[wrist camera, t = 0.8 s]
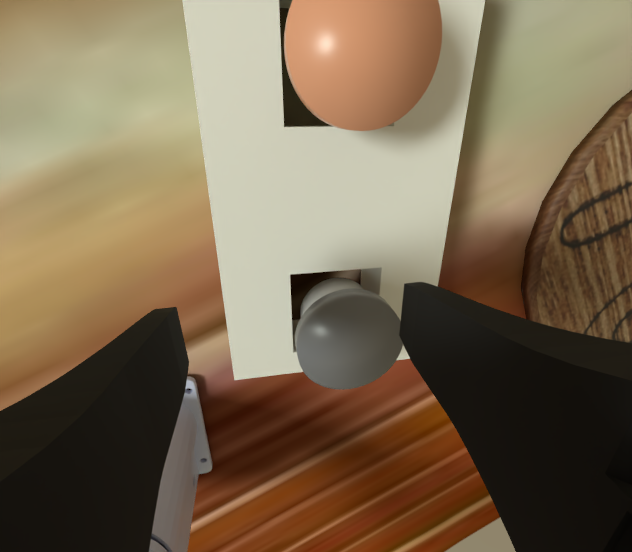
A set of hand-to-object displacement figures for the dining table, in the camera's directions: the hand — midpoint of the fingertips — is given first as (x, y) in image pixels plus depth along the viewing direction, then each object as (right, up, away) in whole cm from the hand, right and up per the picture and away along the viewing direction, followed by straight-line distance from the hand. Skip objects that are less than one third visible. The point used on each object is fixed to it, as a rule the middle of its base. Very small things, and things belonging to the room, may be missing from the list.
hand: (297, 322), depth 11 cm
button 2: (+2, 0, +8) cm, 9 cm away
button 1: (+2, +10, +3) cm, 11 cm away
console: (+1, +6, +9) cm, 11 cm away
